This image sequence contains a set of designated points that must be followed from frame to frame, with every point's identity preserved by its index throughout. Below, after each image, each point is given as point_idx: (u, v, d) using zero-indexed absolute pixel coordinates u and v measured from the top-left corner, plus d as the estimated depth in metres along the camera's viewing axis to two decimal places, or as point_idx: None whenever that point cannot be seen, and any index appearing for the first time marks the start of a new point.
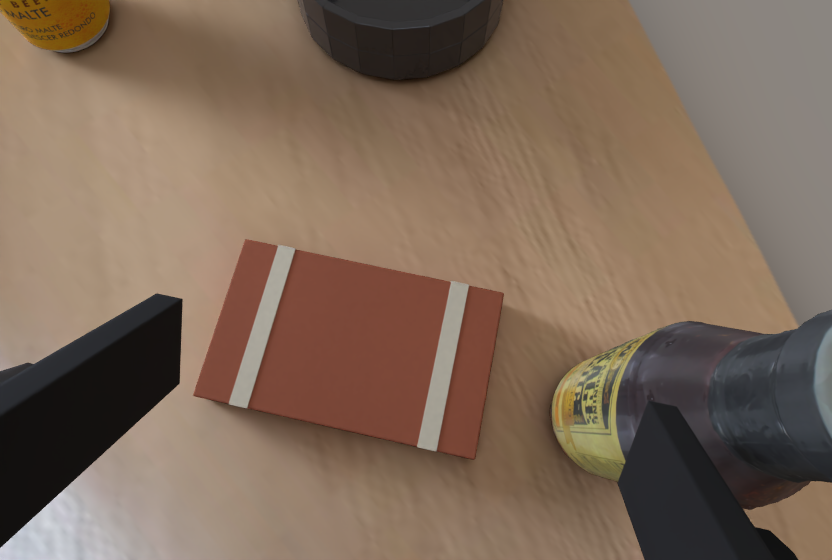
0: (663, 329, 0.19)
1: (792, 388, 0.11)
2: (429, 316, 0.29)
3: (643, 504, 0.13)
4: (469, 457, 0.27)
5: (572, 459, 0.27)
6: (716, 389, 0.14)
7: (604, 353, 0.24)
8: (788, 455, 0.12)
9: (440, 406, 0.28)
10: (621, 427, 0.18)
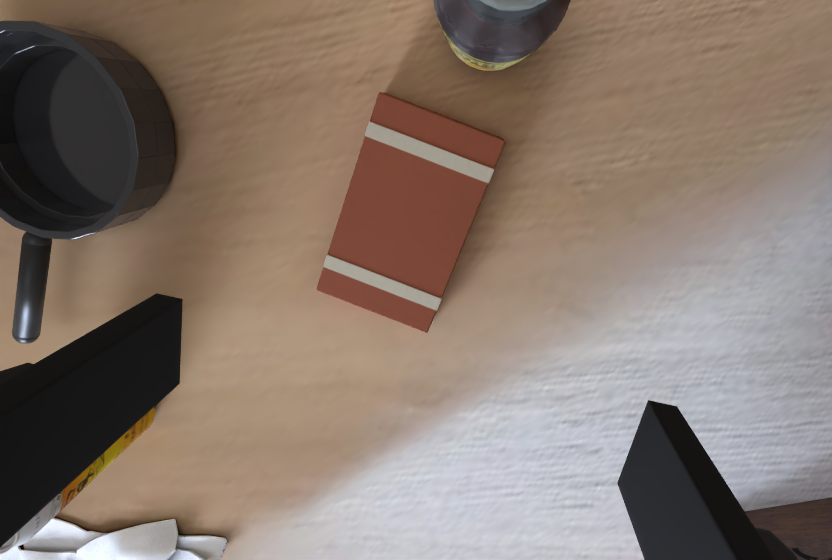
0: (437, 12, 0.24)
1: (496, 13, 0.18)
2: (392, 158, 0.37)
3: (643, 504, 0.13)
4: (503, 144, 0.35)
5: None
6: (488, 21, 0.21)
7: None
8: None
9: (462, 161, 0.36)
10: (502, 61, 0.25)
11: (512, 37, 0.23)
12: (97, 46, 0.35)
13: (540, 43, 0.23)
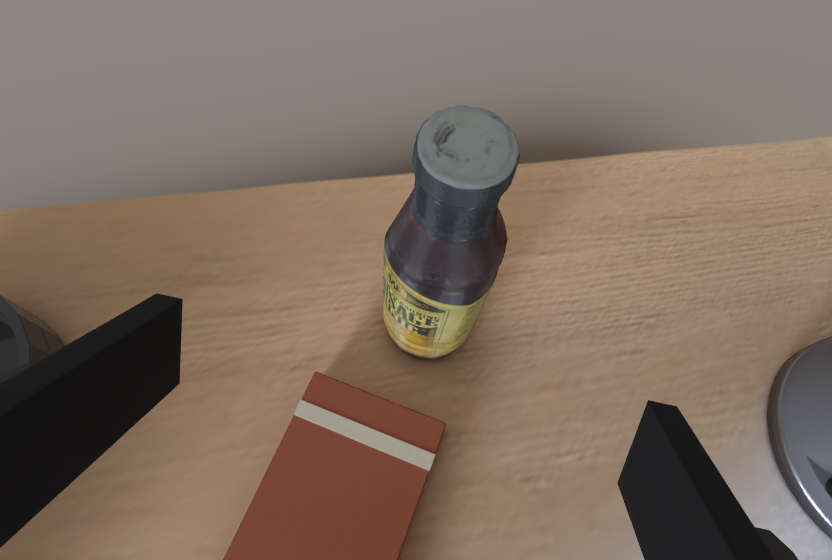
0: (387, 256, 0.27)
1: (453, 197, 0.20)
2: (321, 440, 0.32)
3: (643, 504, 0.13)
4: (443, 427, 0.33)
5: (455, 348, 0.35)
6: (440, 235, 0.23)
7: (387, 302, 0.32)
8: (485, 210, 0.21)
9: (399, 444, 0.32)
10: (447, 300, 0.26)
11: (459, 265, 0.24)
12: (23, 312, 0.34)
13: (484, 275, 0.25)
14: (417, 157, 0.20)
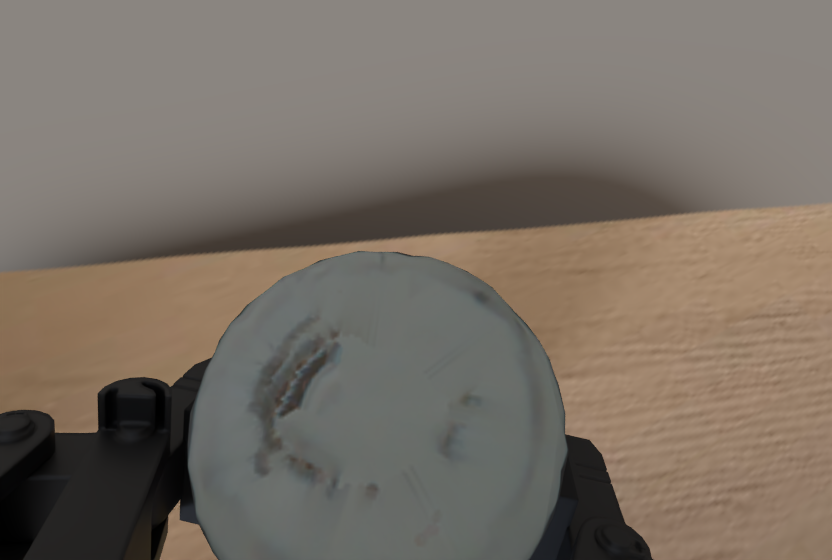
0: None
1: None
2: None
3: None
4: None
5: None
6: None
7: None
8: None
9: None
10: None
11: None
12: None
13: None
14: None
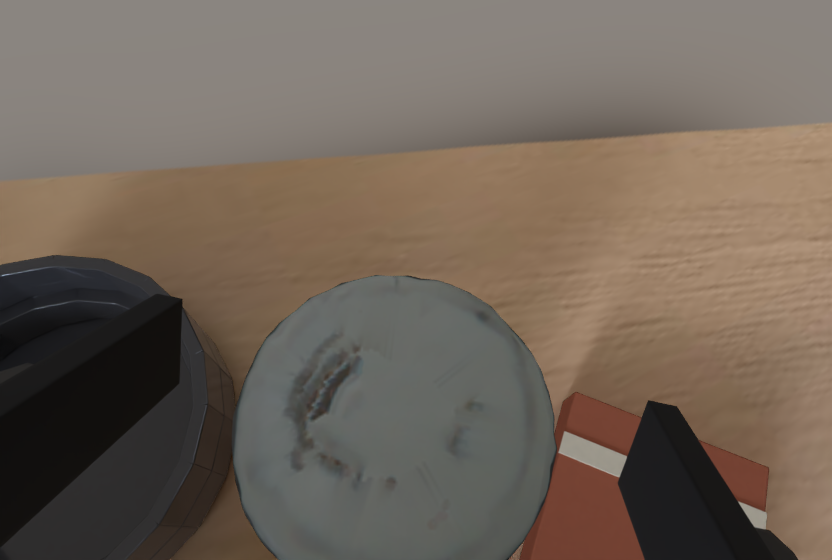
0: None
1: None
2: (603, 490, 0.23)
3: (643, 504, 0.13)
4: (767, 473, 0.24)
5: None
6: None
7: None
8: None
9: None
10: None
11: None
12: None
13: None
14: (234, 462, 0.06)
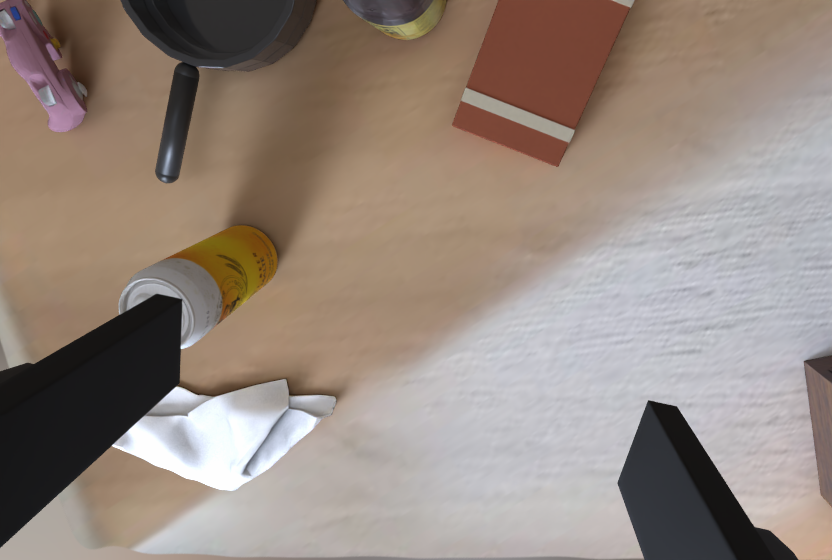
0: None
1: None
2: None
3: (643, 504, 0.13)
4: None
5: (429, 30, 0.40)
6: None
7: None
8: None
9: None
10: (390, 24, 0.31)
11: (388, 3, 0.29)
12: None
13: (413, 8, 0.29)
14: None
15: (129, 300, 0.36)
